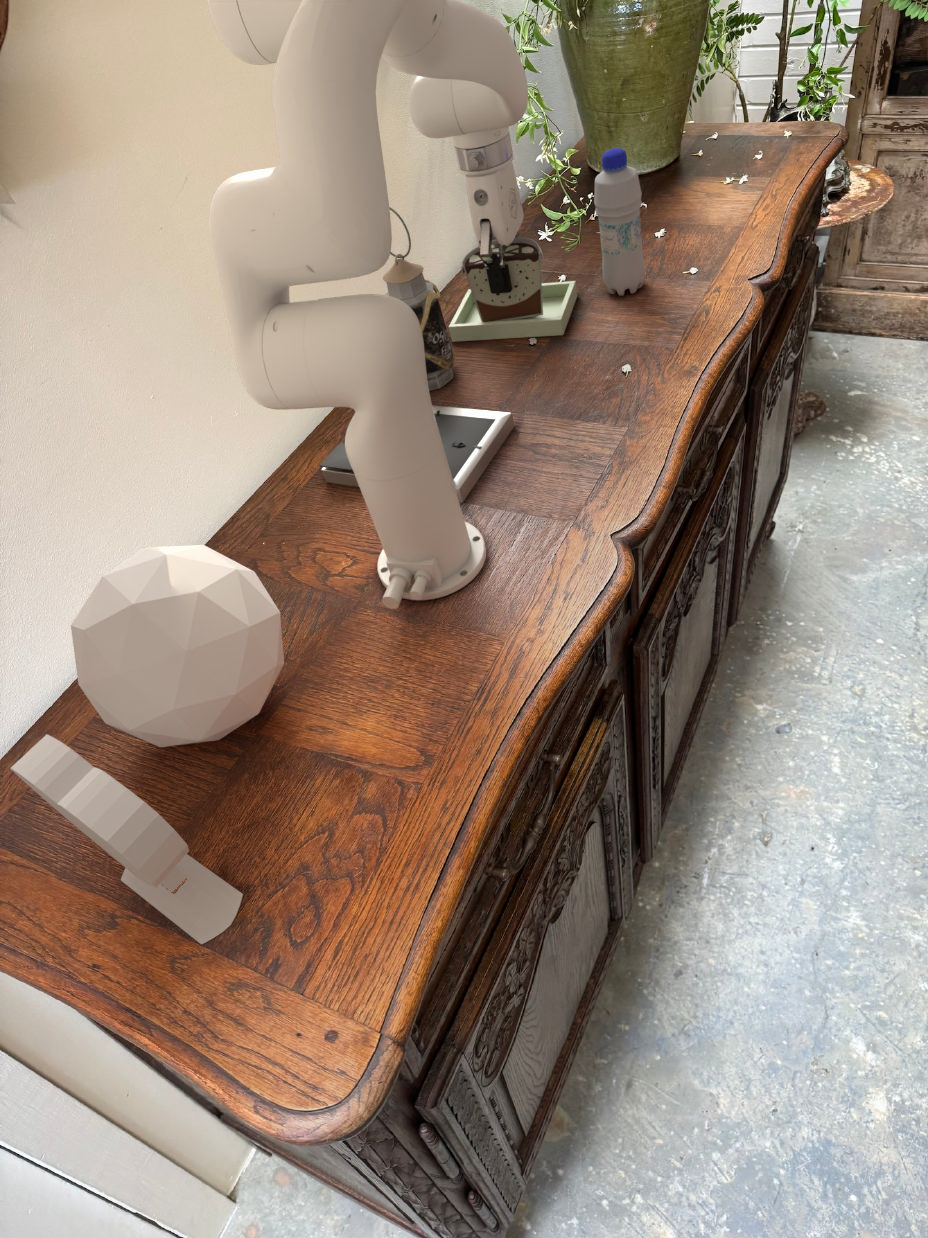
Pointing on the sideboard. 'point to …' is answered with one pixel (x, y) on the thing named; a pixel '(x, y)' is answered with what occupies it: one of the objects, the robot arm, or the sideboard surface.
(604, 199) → the bottle
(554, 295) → the tray
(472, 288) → the food container
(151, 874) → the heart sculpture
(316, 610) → the sideboard surface
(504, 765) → the sideboard surface
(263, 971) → the sideboard surface
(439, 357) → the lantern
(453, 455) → the picture frame
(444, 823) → the sideboard surface
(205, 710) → the ball
